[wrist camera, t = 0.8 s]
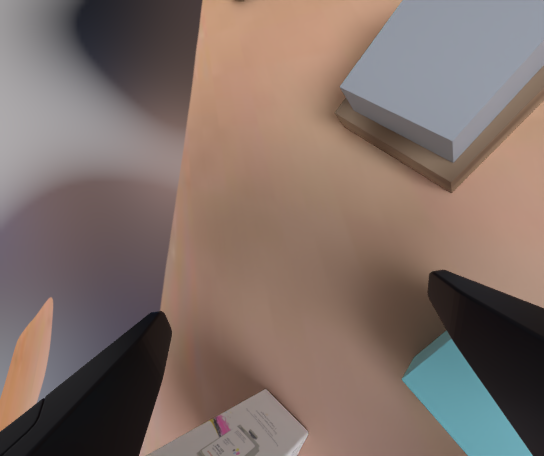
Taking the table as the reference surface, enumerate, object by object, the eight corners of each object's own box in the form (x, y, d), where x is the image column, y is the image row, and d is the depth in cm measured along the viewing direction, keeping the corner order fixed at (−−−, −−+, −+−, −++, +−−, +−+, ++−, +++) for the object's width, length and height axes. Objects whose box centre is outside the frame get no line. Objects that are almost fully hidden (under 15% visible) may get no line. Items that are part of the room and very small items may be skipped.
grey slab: (571, 35, 14) (595, -18, 11) (453, 163, 16) (452, 141, 13) (433, 6, 18) (429, -36, 16) (353, 110, 20) (339, 86, 18)
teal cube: (571, 384, 13) (621, 427, 9) (490, 437, 15) (502, 495, 11) (476, 305, 16) (483, 312, 12) (414, 357, 17) (401, 379, 13)
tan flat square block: (585, 61, 16) (609, 20, 13) (451, 195, 18) (451, 182, 16) (434, 21, 21) (431, -13, 18) (347, 130, 23) (334, 112, 21)
